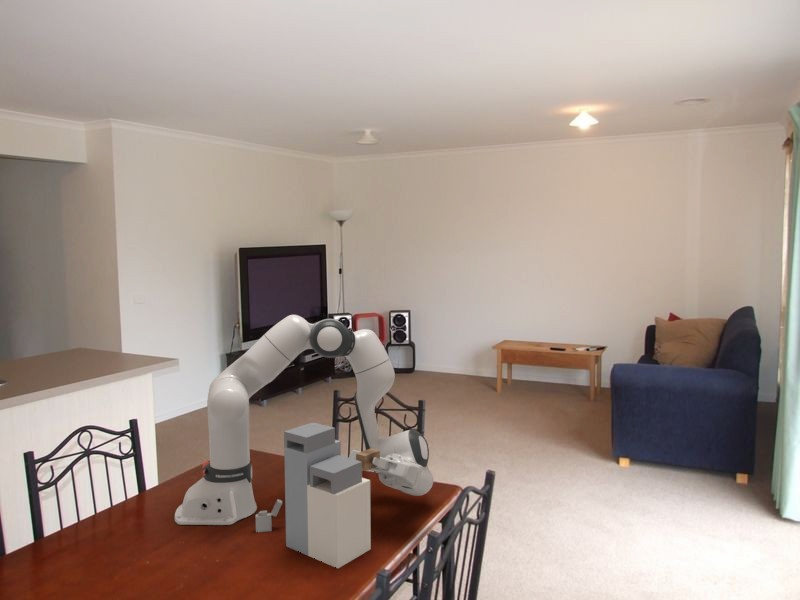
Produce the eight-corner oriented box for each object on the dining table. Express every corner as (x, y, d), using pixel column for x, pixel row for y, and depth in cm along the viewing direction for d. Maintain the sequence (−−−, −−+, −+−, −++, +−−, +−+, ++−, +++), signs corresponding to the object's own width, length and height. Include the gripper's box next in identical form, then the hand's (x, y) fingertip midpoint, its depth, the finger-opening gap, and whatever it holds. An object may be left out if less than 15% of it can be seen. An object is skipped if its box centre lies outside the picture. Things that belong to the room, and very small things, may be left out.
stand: (319, 529, 172) (318, 420, 169) (370, 549, 161) (369, 433, 158) (286, 546, 163) (283, 431, 160) (337, 568, 152) (336, 445, 149)
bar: (370, 463, 170) (371, 448, 169) (379, 465, 168) (379, 450, 168) (325, 480, 156) (326, 464, 156) (334, 483, 154) (334, 466, 154)
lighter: (256, 532, 170) (255, 503, 170) (255, 529, 172) (255, 501, 171) (283, 529, 172) (282, 500, 171) (282, 526, 174) (281, 498, 173)
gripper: (369, 451, 183) (340, 438, 173) (427, 467, 171) (400, 454, 160) (362, 473, 181) (332, 461, 171) (420, 491, 169) (392, 479, 158)
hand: (365, 458), depth 166 cm, fingers closed on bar, 3 cm apart
